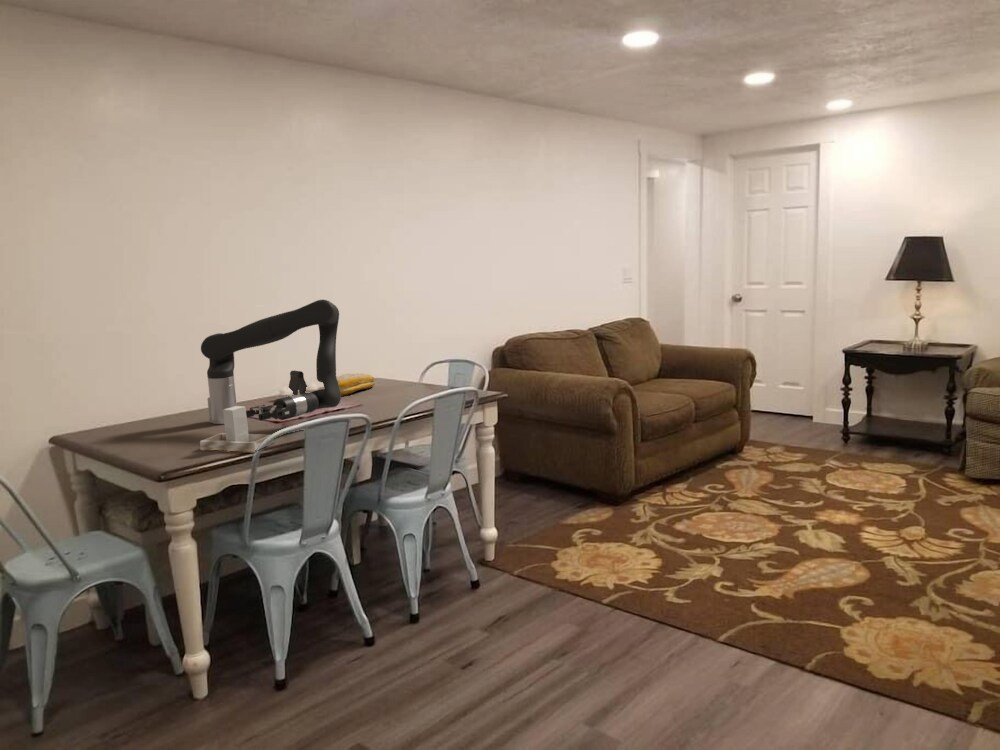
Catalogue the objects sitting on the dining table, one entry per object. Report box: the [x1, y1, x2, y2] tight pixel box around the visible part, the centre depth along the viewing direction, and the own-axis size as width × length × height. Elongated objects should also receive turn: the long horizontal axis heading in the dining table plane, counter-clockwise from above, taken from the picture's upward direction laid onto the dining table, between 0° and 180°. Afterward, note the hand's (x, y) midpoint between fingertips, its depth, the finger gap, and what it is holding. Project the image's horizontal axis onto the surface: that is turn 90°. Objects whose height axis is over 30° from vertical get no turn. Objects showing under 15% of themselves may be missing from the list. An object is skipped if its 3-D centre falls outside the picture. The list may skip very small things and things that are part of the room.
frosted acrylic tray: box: [199, 432, 271, 453], centre depth 244 cm, size 20×11×3 cm, turn 75°
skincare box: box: [223, 405, 250, 442], centre depth 243 cm, size 6×4×12 cm
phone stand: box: [288, 369, 308, 395], centre depth 323 cm, size 9×6×12 cm, turn 136°
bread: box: [336, 373, 375, 397], centre depth 335 cm, size 13×26×8 cm, turn 158°
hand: (251, 416), depth 248 cm, fingers open, 8 cm apart
